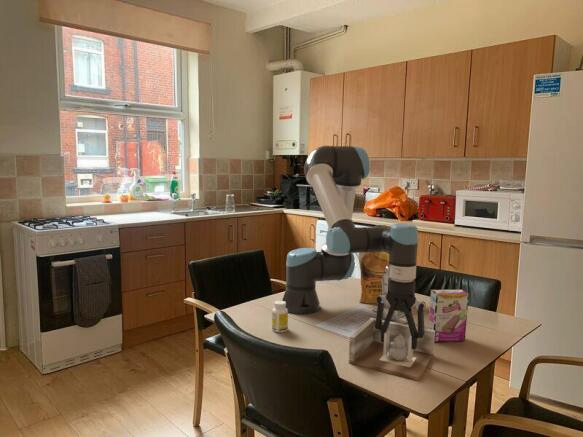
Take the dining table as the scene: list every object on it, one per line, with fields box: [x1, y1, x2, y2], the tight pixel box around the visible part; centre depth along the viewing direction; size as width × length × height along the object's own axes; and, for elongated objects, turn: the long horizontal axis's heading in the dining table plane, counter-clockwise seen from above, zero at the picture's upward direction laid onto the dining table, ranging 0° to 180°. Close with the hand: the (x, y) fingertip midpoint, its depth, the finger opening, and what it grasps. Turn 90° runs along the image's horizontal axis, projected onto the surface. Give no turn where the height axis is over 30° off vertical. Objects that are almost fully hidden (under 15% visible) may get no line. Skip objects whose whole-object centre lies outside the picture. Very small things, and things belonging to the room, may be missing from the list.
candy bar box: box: [427, 289, 470, 343], centre depth 143 cm, size 11×5×16 cm, turn 97°
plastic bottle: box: [381, 266, 399, 322], centre depth 160 cm, size 6×7×20 cm
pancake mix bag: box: [358, 252, 389, 304], centre depth 182 cm, size 7×19×28 cm, turn 103°
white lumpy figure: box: [389, 333, 408, 361], centre depth 126 cm, size 5×7×8 cm
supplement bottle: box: [271, 300, 289, 333], centre depth 149 cm, size 5×5×10 cm
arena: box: [348, 317, 435, 382], centre depth 128 cm, size 20×18×8 cm
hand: (397, 355), depth 127 cm, fingers open, 6 cm apart
